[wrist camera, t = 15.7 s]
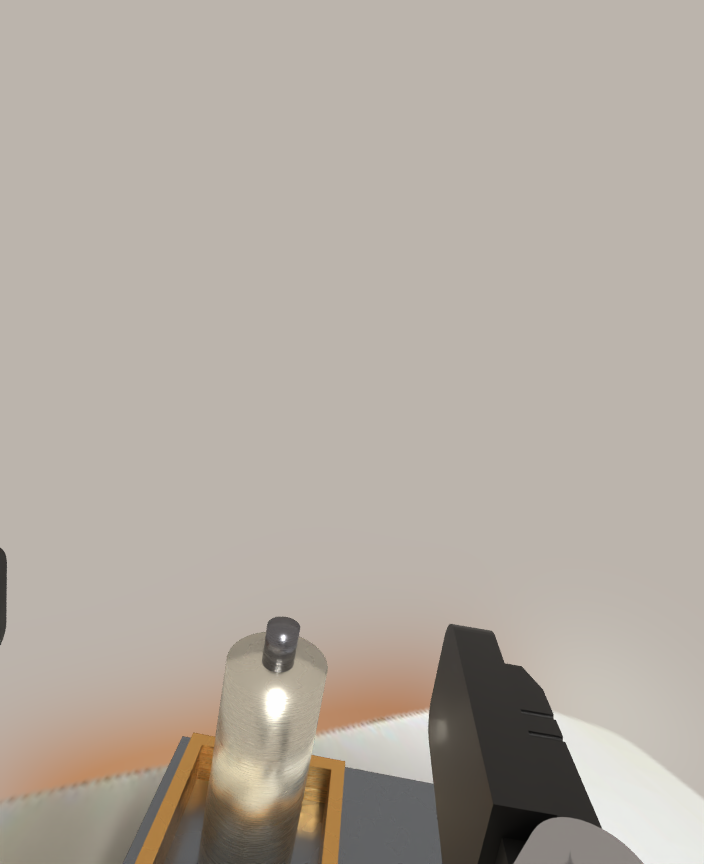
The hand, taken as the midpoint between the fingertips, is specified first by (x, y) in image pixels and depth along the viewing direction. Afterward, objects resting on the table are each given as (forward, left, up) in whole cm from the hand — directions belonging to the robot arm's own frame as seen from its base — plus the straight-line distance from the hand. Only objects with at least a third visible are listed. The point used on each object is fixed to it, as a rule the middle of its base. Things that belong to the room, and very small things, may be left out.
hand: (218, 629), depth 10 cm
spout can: (0, -15, -23) cm, 28 cm away
